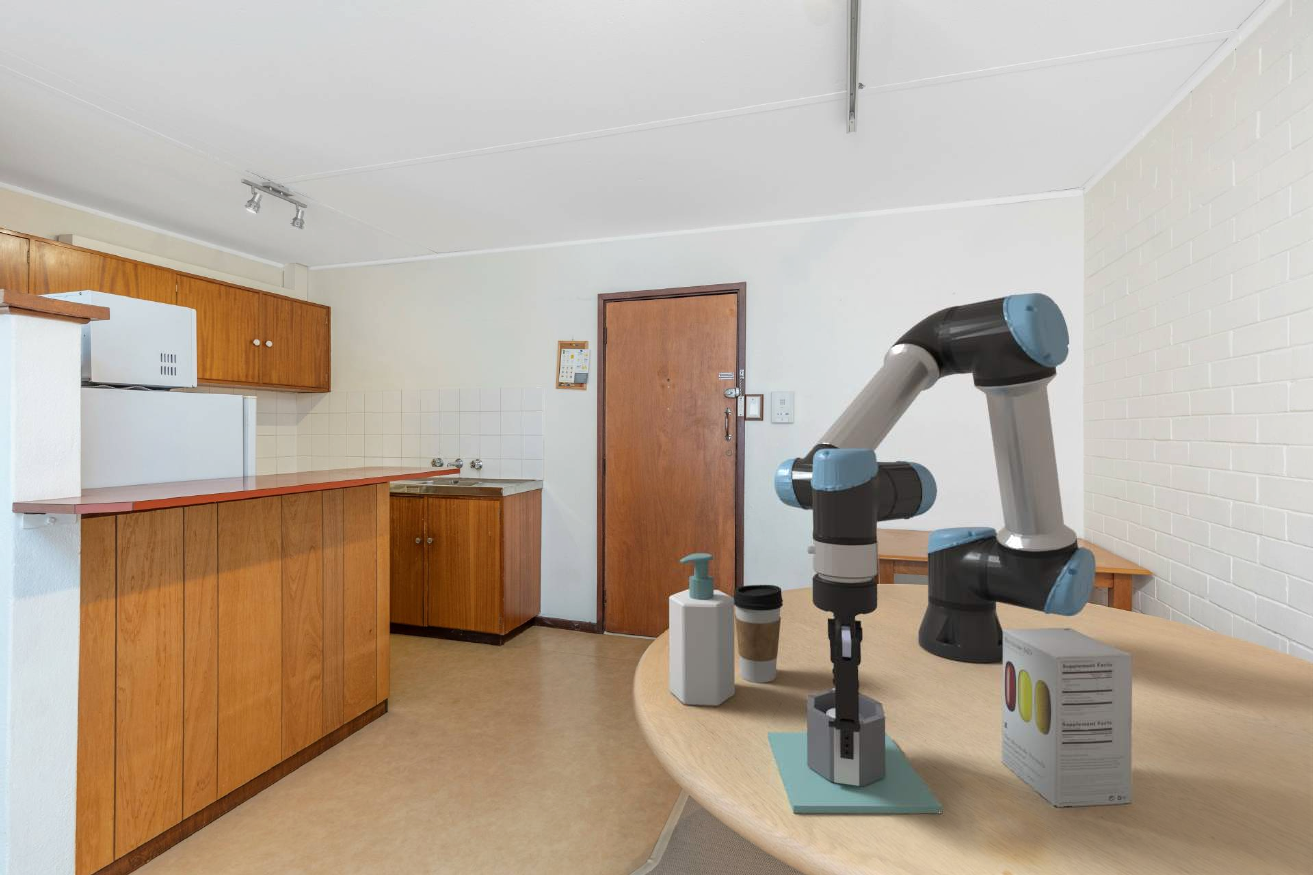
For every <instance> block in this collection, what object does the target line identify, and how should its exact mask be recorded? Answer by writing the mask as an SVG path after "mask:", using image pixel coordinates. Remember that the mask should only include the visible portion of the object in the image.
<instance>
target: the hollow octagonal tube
mask: <svg viewBox="0 0 1313 875" xmlns="http://www.w3.org/2000/svg"><path fill="white" fill-rule="evenodd" d="M832 708H835V690H833V688H832V689H829V688H828V689H825V690H821V691H819V692H814V693H811V694H808V695H807V705H806V721H807V722H806V732H807V766H809V767H810V768H811V769H813V770H814V771H816V772H817V773H819V774H820V775H822V776H823V777H825V778H826V779H828V780H829V781H833V782H834V727H829V721H834V719H835V718H832V717H830V716H828V715H827V714H826V712H827V711H828V710H829V709H832ZM859 713H860V714H862V715H863V717H864V720H861V721H859V723H860V731H859V785H861V786H864V785H867V784H869V783H872V782H874V781H876V780H879V779H881V778H883V777H885V733H886V716H885V711H884V707H883V703H882V702H880V701H878V700H875V699H873V698H872V697H869V696H868V695H866V694H863V693H861V692H859Z"/></svg>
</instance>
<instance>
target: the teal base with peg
mask: <svg viewBox="0 0 1313 875" xmlns="http://www.w3.org/2000/svg"><path fill="white" fill-rule="evenodd" d="M826 714H827V715H828V716H830V717H832V718H835V708H832V709H829V710H828V711H827V712H826ZM861 720H864V717H863V715H862V714H860V713H859V721H861ZM767 741H768V743H769V747H770V749H771V752H772V754H773V758H774V760H775V764H776V766H777V767H776V768H777V769H778V772H779V775H780V778H781V781H782V784H783V786H784V790H785V792H786V795H787V798H788V802H789V804H790V807H791V810H792V813H793V814H900V815H901V814H903V815H904V814H905V813H906V814H907V813H909V814H910V813H911V814H913V813H914V814H915V815H916V813H918V814H919V813H939V812H940V813H942V811H943V810H942V809H943V807H942V805H941V803H940V802H939V801H938V800H937V798H936V797H935V796H934V794H933V793H932V791H931V790H930V789H929V787H928V786H927V785H926V783H925V782H924V780H923V779H922V778H921V776H920V775H919V774H918V772H916V770H915V769H914V767H913V766H912V764H910V762H909V760H907V758H906V757H905V755H904V754H903V753H902V752H901V750H900V749H899V747H898V745H897V744H896V743H895V742H894V740H892V738H891V736H890V735H889V734H888V733H887V732H885V777H883V778H881V779H879V780H876V781H874V782H872V783H869V784H867V785H864V786H861V785H859V786H856V785H849V784H843V783H836V782H833V781H829V780H828V779H826V778H825V777H823V776H822V775H820V774H819V773H817V772H816V771H814V770H813V769H811V768H810V767H809V766H807V731H806V732H805V731H801V732H800V731H796V732H795V731H794V732H793V731H792V732H791V731H789V732H787V731H785V732H784V731H778V732H777V731H775V732H774V731H773V732H772V731H771V732H769V731H767ZM942 814H943V813H942ZM907 815H908V814H907Z"/></svg>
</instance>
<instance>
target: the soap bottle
mask: <svg viewBox="0 0 1313 875" xmlns="http://www.w3.org/2000/svg"><path fill="white" fill-rule="evenodd" d="M713 559H714V555H712V554H710V553H706V552H704V553H702V552H701V553H699V552H697V553H696V552H695V553H693V554H689V555H687V556H685V557H683V558H681V559H680V560H679V563H680V564H681V565H683V564H687V563H693V565H694V566H693V567H694V568H693V571H694V572H693V574H694V575H691V576H689V578H688V581H689V585H688V587H689V588H688V589H685V590H683V591H680V592H677V593H675V594H672V595H670V596H669V597H668V602H669V603H668V606H669V608H668V610H669V612H668V614H669V615H668V616H669V617H668V618H669V620H668V623H669V624H668V625H669V627H668V628H669V633H668V634H669V636H668V637H669V638H668V639H669V640H668V641H669V645H668V647H669V648H668V649H669V658H668V659H669V692H671V694H672V695H673V696H675V697H676V699H678V700H679V702H681V703H682V704H683V705H685V706H700V707H701V706H702V707H703V706H704V707H705V706H707V707H718V706H720V705H721V704H723V703H724V702H725V701H727V700H729V698H731V697H732V696H734V695H735V693H736V692H735V689H736V688H735V687H736V686H735V682H736V681H735V678H736V677H735V605H734V598H733V597H734V596H732V595H731V596H730V595H729V594H727V593H725V592H723V591H721V590H719V589H715V588H714V583H715V582H714V580H715V579H714V577H713V576H711V575H709V574H710V573H709V572H710V570H709V569H710V567H709V566H710V565H709V562H710V561H712V560H713Z"/></svg>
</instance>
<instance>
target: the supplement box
mask: <svg viewBox="0 0 1313 875" xmlns="http://www.w3.org/2000/svg"><path fill="white" fill-rule="evenodd" d="M1002 630H1003V660H1002V694H1001V695H1002V698H1001V699H1002V700H1001V701H1002V705H1001V706H1002V707H1001V708H1002V709H1001V710H1002V712H1001V717H1002V718H1001V719H1002V720H1001V762H1002V763H1003V764H1004V765H1005V766H1007V768H1009V770H1011V771H1012V772H1013V773H1014V774H1016V775H1017V776H1018V777H1019V778H1020V779H1021V780H1023V781H1024V782H1025V783H1027V785H1029V786H1030V787H1031V788H1032V789H1033V790H1035V791H1036V793H1038V794H1039V795H1040V794H1041V797H1043V798H1044V799H1045V800H1046V799H1047V800H1046V801H1047V802H1049V803H1050V804H1051V803H1052V804H1053V805H1052V804H1051V805H1052V806H1054V805H1055V806H1057V807H1056V808H1067V807H1066V806H1072V807H1085V806H1086V807H1089V806H1090V807H1091V806H1103V805H1104V806H1105V805H1124V803H1125V804H1126V803H1127V804H1132V761H1133V760H1132V757H1133V756H1132V747H1133V746H1132V745H1133V744H1132V741H1133V740H1132V737H1133V736H1132V733H1133V731H1132V730H1133V729H1132V727H1133V726H1132V724H1133V720H1132V719H1133V712H1132V711H1133V707H1132V706H1133V703H1132V702H1133V654H1131V653H1130V652H1127V651H1124V650H1121V649H1119V648H1117V647H1114V646H1112V645H1109V644H1107V643H1104V642H1102V641H1100V640H1098V639H1095V638H1093V637H1091V636H1088V635H1086V634H1084V633H1082V632H1079V631H1077V630H1075V628H1074V629H1073V628H1071V627H1046V628H1045V627H1042V628H1039V627H1038V628H1009V629H1008V628H1006V629H1002ZM1055 806H1054V807H1055ZM1064 806H1065V807H1064Z"/></svg>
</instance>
